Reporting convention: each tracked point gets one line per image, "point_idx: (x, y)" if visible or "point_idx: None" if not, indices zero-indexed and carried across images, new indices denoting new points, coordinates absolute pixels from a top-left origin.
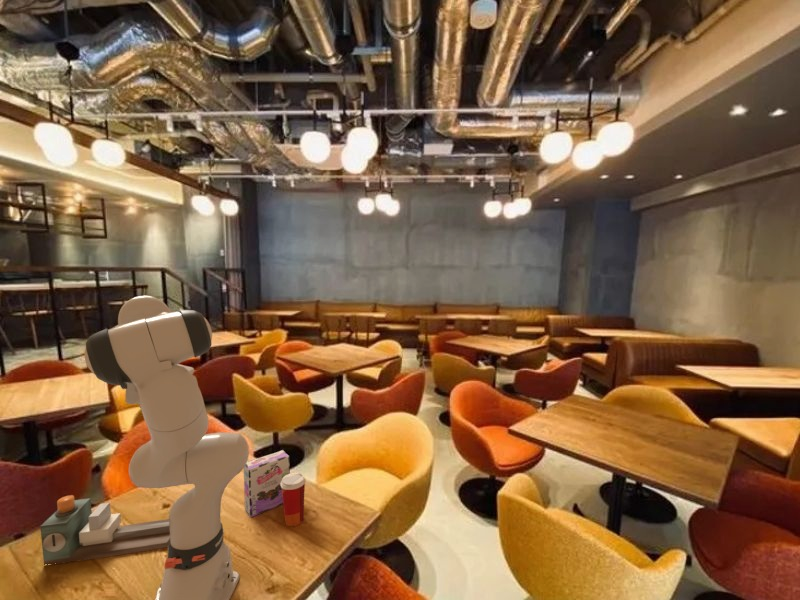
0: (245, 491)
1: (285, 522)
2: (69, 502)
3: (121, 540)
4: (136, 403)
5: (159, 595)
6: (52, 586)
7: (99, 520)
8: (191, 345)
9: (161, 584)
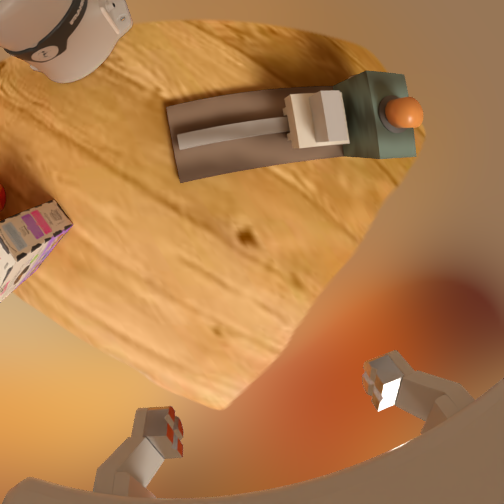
0: (46, 228)
1: (2, 188)
2: (398, 103)
3: (267, 116)
4: (493, 388)
5: (123, 13)
6: (315, 42)
7: (315, 96)
8: None
9: (111, 2)
